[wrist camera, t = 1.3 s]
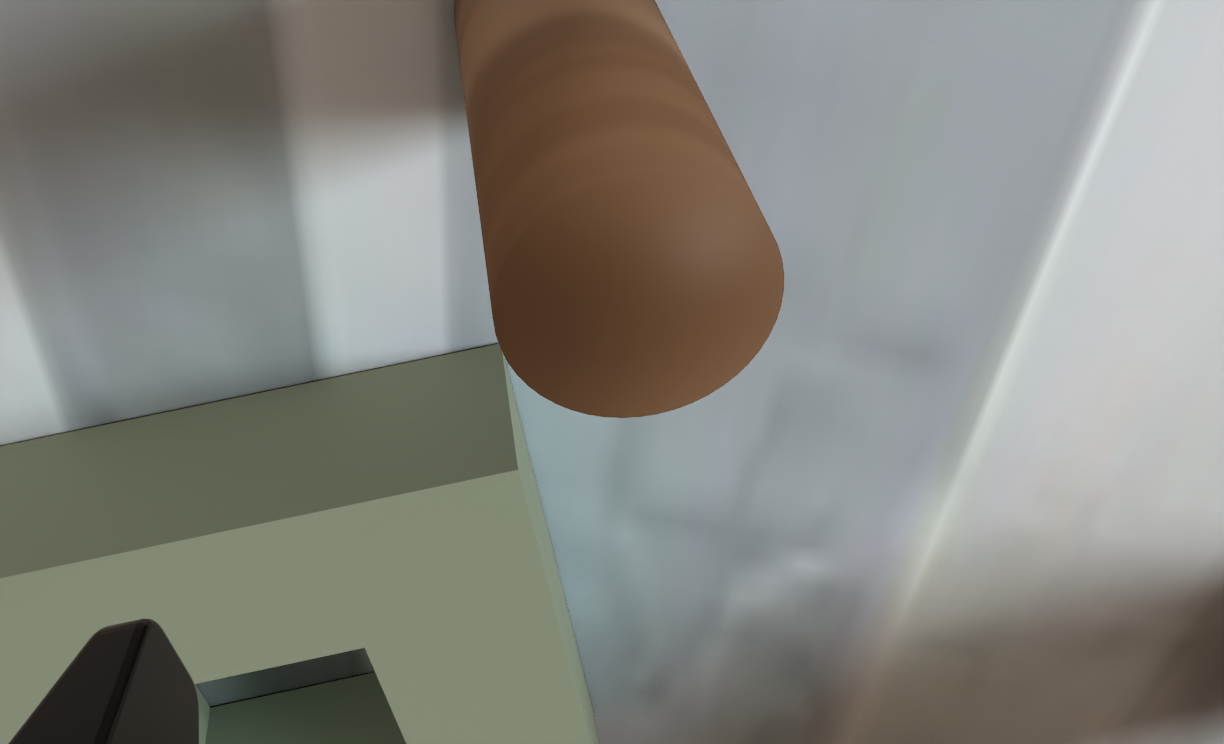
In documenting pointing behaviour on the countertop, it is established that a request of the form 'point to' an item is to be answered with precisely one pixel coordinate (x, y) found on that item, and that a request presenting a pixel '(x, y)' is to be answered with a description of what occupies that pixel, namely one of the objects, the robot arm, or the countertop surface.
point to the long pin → (610, 208)
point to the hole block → (306, 558)
